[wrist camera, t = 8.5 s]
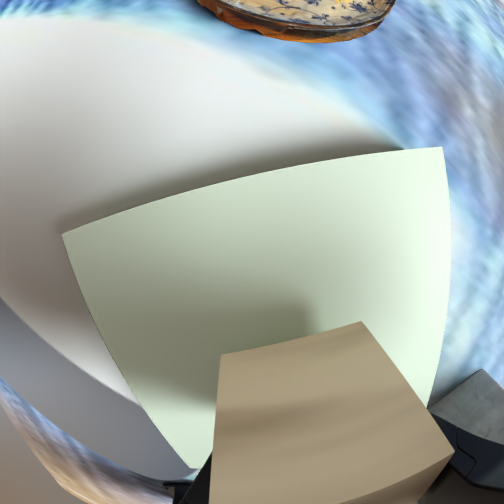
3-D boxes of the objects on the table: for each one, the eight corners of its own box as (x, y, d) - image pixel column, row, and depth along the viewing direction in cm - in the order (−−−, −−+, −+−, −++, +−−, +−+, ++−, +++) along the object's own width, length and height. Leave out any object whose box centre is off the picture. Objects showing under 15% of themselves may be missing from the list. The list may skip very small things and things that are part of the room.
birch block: (360, 408, 10) (407, 512, 4) (253, 434, 10) (260, 550, 4) (361, 320, 9) (455, 451, 3) (220, 354, 9) (208, 520, 3)
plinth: (407, 385, 16) (424, 411, 13) (194, 436, 16) (190, 468, 13) (405, 150, 11) (442, 146, 9) (94, 221, 12) (61, 233, 9)
